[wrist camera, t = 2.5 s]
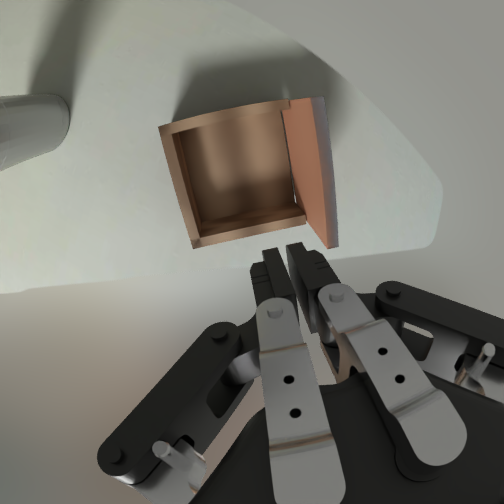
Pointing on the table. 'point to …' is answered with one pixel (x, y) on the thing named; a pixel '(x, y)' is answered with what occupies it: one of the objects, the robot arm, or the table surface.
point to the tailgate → (313, 165)
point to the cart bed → (232, 173)
